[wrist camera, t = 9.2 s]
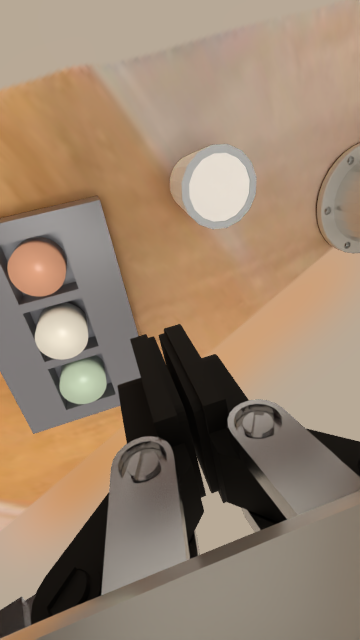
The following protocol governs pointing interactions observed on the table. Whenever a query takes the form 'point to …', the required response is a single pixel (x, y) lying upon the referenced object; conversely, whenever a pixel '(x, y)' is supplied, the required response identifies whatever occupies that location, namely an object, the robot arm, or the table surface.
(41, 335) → the cream button
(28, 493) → the table surface
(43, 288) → the terracotta button
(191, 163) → the light grey cup
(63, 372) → the sage button
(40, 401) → the console
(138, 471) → the robot arm
